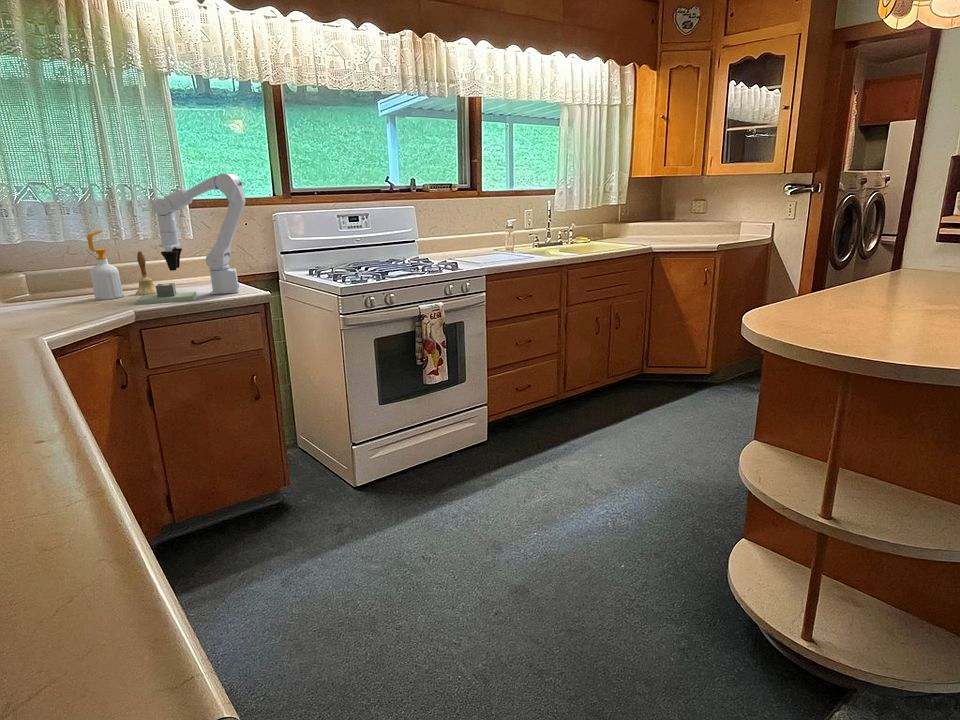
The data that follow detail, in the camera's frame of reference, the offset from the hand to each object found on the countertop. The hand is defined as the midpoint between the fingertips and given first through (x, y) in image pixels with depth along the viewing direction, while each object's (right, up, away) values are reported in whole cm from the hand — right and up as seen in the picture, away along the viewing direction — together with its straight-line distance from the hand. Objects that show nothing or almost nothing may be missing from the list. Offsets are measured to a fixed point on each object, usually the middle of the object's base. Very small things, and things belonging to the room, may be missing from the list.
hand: (174, 269), depth 229 cm
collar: (+2, -11, -9) cm, 15 cm away
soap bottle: (-24, -11, -1) cm, 26 cm away
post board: (+2, -12, -9) cm, 15 cm away
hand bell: (-14, -8, +7) cm, 17 cm away
